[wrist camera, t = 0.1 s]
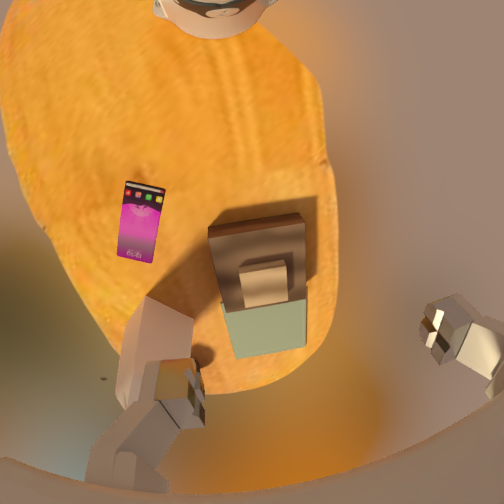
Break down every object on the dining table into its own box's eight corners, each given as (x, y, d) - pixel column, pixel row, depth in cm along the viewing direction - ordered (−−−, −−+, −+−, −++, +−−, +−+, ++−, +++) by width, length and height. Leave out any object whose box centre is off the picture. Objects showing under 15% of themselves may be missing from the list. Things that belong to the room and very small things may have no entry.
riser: (208, 227, 49) (207, 238, 46) (298, 212, 49) (304, 222, 46) (225, 299, 58) (226, 313, 55) (301, 286, 59) (306, 299, 55)
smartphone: (167, 188, 45) (166, 189, 44) (152, 262, 52) (151, 264, 51) (126, 179, 43) (125, 180, 42) (117, 254, 50) (115, 256, 49)
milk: (194, 319, 60) (193, 428, 39) (170, 345, 64) (164, 444, 43) (145, 295, 55) (123, 408, 34) (125, 325, 59) (104, 426, 38)
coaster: (238, 267, 49) (239, 273, 48) (283, 259, 50) (286, 265, 48) (244, 300, 54) (245, 308, 52) (285, 293, 54) (288, 300, 52)
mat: (220, 302, 58) (220, 303, 58) (305, 287, 59) (306, 288, 59) (235, 357, 69) (236, 359, 69) (304, 345, 70) (305, 346, 70)
